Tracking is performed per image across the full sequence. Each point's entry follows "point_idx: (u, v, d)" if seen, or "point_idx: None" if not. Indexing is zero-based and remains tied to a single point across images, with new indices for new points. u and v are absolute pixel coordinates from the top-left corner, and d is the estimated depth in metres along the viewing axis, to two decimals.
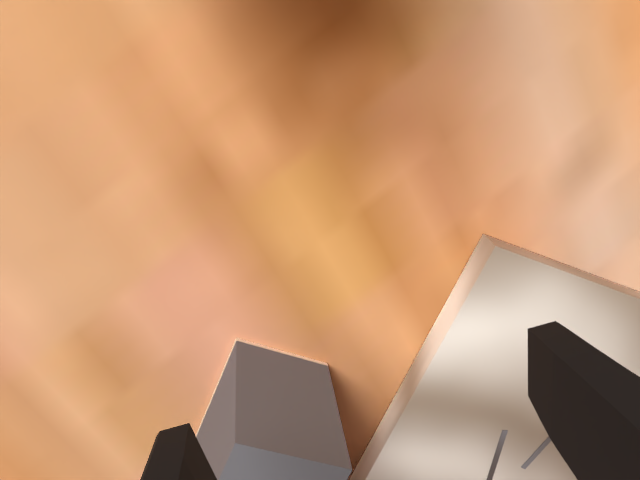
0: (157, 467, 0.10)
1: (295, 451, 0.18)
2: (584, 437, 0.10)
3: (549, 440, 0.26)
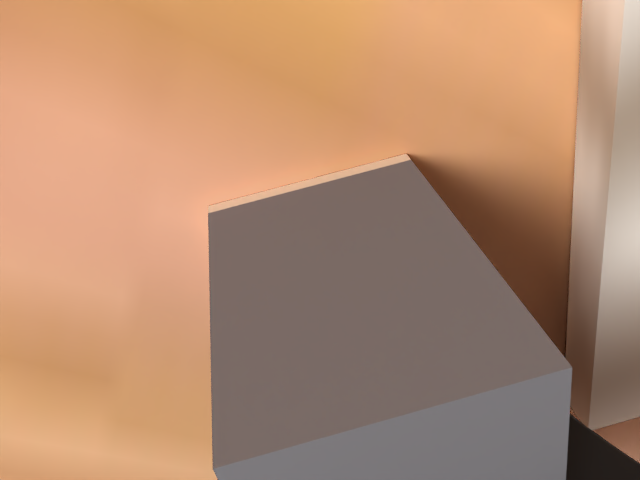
0: None
1: (393, 399, 0.06)
2: None
3: None
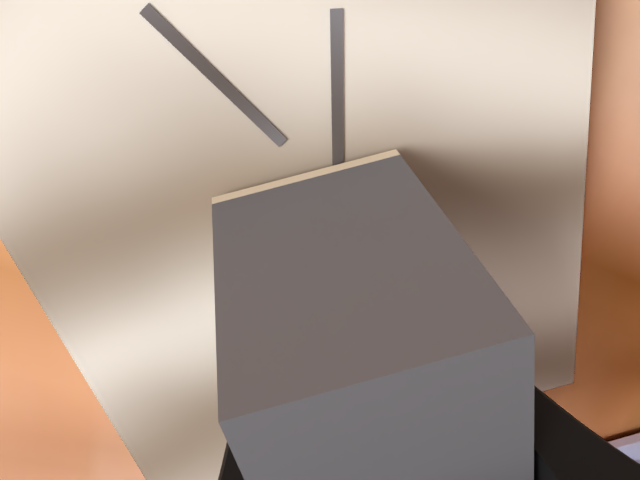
0: None
1: (376, 364, 0.07)
2: None
3: None
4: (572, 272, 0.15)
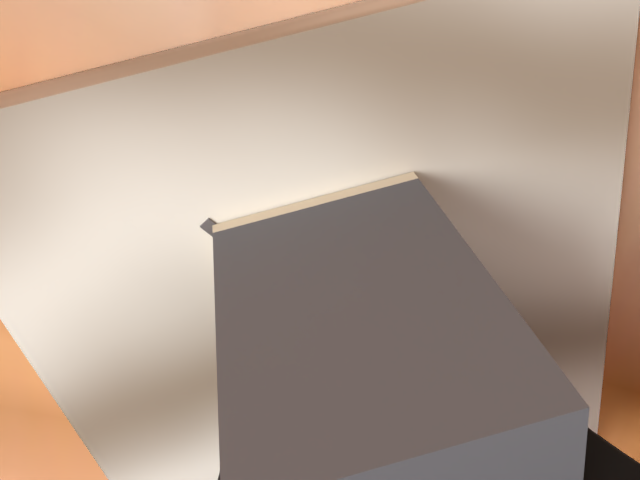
0: None
1: (404, 439, 0.06)
2: None
3: None
4: (593, 404, 0.16)
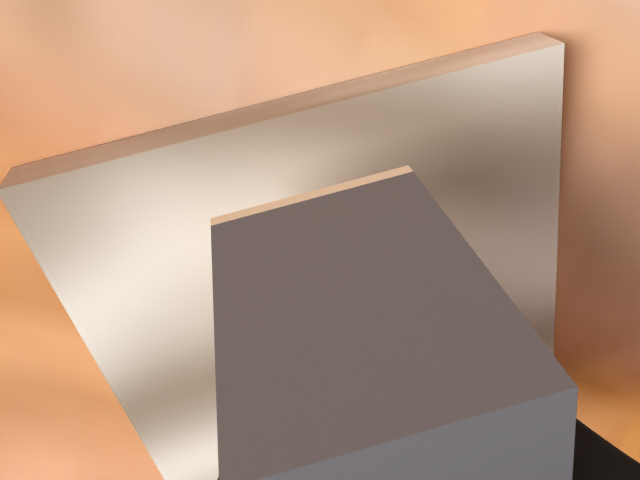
0: None
1: (397, 419, 0.06)
2: None
3: None
4: None
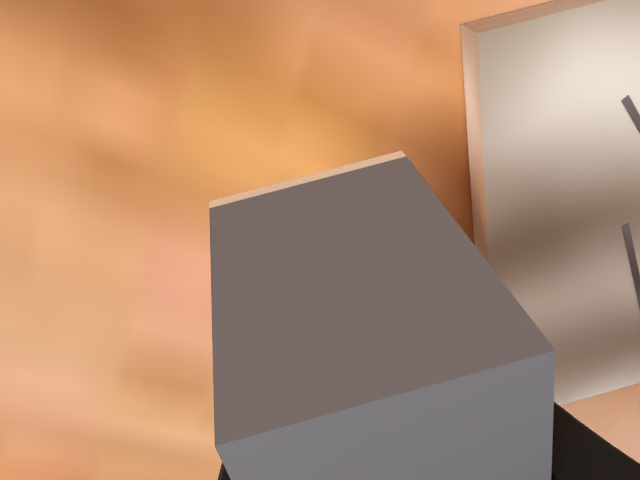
0: None
1: (385, 381, 0.07)
2: None
3: None
4: None
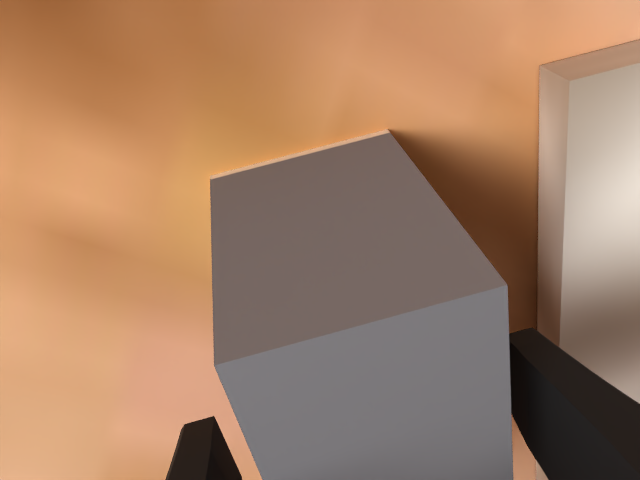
0: (185, 459, 0.10)
1: (361, 312, 0.08)
2: (558, 444, 0.10)
3: None
4: None
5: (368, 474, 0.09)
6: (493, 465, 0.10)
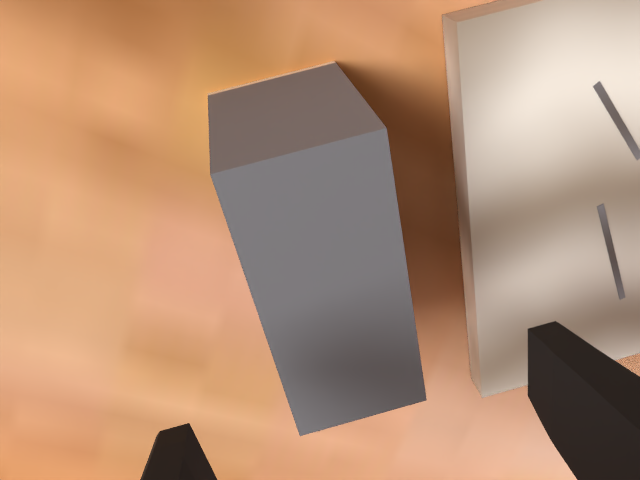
0: (157, 467, 0.10)
1: (299, 146, 0.13)
2: (584, 437, 0.10)
3: None
4: None
5: (310, 268, 0.14)
6: (394, 268, 0.15)
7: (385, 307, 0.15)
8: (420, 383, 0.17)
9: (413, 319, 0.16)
